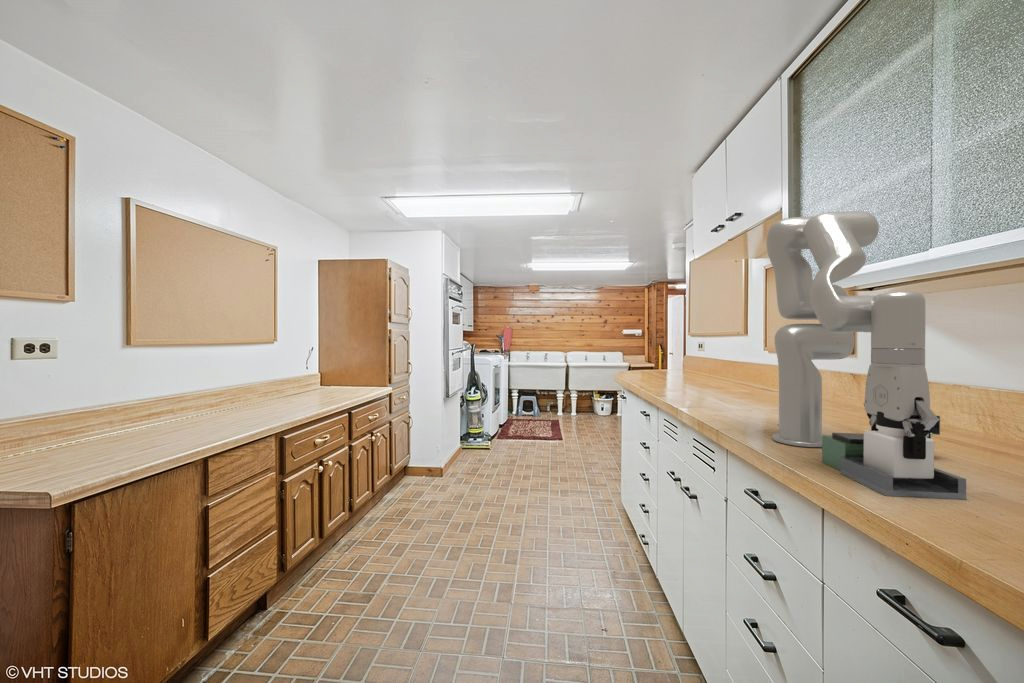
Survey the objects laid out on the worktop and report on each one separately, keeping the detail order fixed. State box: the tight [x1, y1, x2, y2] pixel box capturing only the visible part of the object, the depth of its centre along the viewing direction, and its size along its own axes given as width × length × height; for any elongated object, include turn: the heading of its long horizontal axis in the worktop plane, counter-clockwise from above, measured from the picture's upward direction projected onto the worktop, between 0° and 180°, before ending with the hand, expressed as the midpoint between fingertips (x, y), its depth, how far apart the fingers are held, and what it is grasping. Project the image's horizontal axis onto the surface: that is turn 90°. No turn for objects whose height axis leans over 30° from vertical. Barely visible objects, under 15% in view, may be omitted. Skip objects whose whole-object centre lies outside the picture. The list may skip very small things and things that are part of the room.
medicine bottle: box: [863, 411, 935, 479], centre depth 79 cm, size 7×7×12 cm
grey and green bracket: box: [821, 432, 967, 500], centre depth 83 cm, size 21×12×7 cm, turn 172°
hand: (896, 451), depth 79 cm, fingers closed on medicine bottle, 7 cm apart
